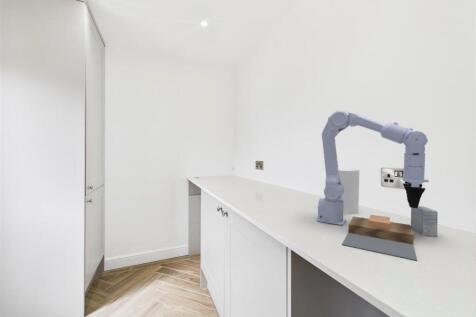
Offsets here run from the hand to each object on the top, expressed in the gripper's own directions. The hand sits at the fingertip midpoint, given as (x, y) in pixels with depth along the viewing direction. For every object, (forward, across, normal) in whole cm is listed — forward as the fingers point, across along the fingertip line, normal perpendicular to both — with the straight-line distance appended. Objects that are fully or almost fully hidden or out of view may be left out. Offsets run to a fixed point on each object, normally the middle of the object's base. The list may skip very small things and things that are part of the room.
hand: (412, 205), depth 79 cm
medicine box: (+10, +4, -4) cm, 11 cm away
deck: (+10, -6, +9) cm, 15 cm away
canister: (+10, +21, +26) cm, 35 cm away
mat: (+10, -19, +9) cm, 23 cm away
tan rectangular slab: (+7, -6, +9) cm, 13 cm away
